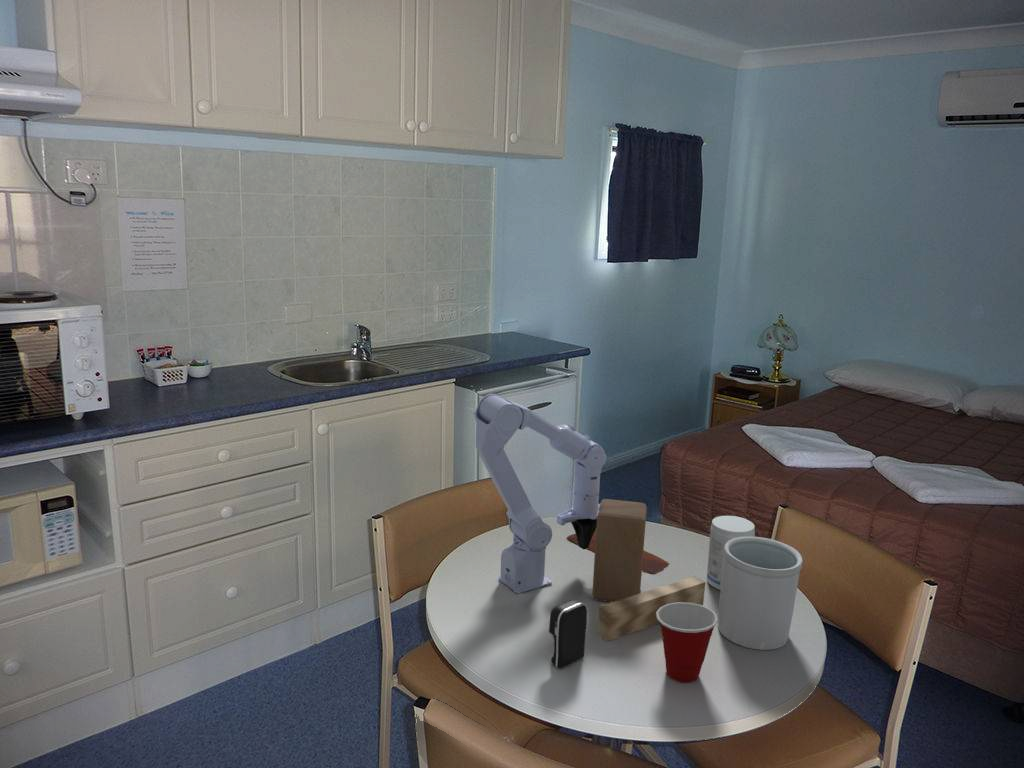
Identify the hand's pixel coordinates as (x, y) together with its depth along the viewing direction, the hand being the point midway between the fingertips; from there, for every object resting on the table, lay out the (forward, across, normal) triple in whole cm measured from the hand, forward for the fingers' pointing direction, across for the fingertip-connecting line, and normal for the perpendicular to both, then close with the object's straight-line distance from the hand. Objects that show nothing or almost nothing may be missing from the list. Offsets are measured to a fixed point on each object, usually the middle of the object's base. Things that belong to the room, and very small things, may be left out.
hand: (583, 547), depth 181 cm
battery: (+6, -25, -28) cm, 38 cm away
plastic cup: (+6, -9, -42) cm, 43 cm away
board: (+6, -1, -25) cm, 26 cm away
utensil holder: (+6, +14, -38) cm, 41 cm away
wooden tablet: (+6, +14, +4) cm, 16 cm away
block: (+6, 0, -12) cm, 14 cm away
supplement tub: (+6, +25, -22) cm, 33 cm away
